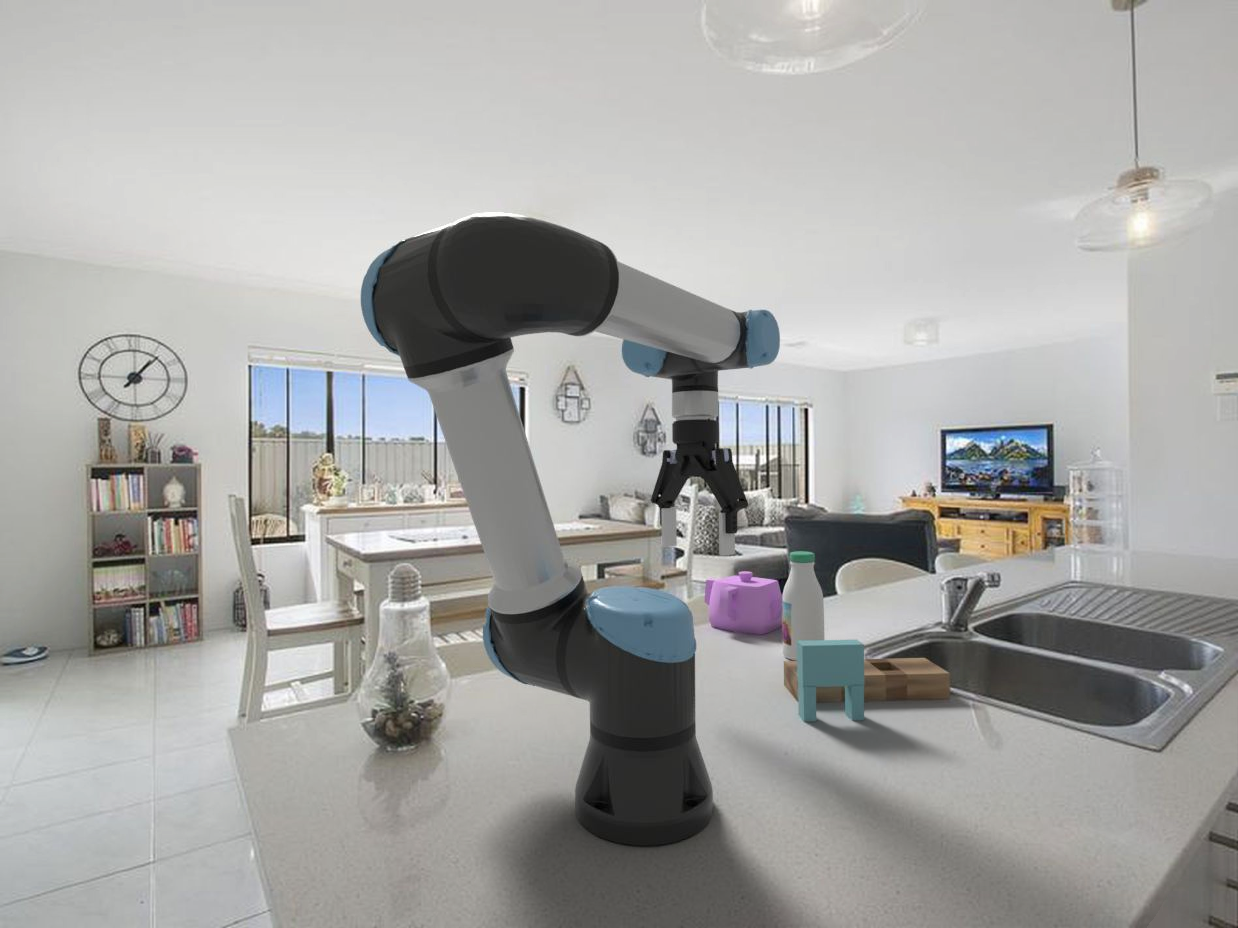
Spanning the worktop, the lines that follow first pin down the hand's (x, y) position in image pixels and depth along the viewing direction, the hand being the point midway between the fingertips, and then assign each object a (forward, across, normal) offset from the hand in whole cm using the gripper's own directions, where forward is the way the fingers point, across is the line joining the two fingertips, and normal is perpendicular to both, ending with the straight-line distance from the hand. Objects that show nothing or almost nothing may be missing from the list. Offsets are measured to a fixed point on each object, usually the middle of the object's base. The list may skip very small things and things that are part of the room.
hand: (696, 550), depth 106 cm
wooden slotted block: (+23, -16, -22) cm, 36 cm away
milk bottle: (+23, +2, -29) cm, 37 cm away
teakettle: (+23, +24, -39) cm, 51 cm away
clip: (+23, -19, -9) cm, 31 cm away
